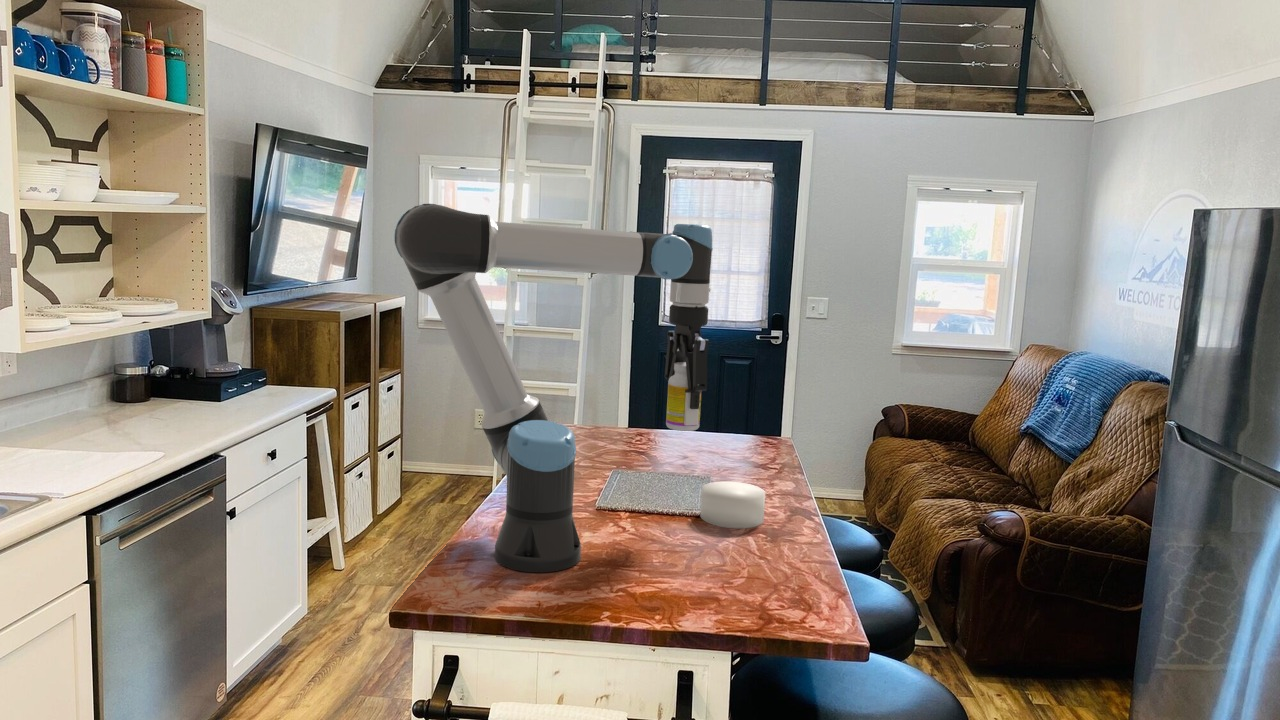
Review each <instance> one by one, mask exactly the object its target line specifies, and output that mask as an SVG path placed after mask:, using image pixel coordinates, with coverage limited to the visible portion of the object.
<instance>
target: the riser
mask: <svg viewBox="0 0 1280 720" xmlns="http://www.w3.org/2000/svg"><path fill="white" fill-rule="evenodd" d="M701 487H702V488H701V497H700V498H701V501H700V515H699V517H700V519H701V520H703V521H704V522H706V523H708V524H711V525H712V526H716V527H720V528H727V529H751V528H755V527H758V526H761V525H762V524H763V523H764V519H765V504H766V491H765V490H764V489H763V488H761V487H759V486H757V485H755V484H754V485H753V484H750V483H745V482H739V481H728V480H727V481H726V480H724V481H723V480H722V481H713V482H708V483H706V484H704V485H702V486H701Z"/></svg>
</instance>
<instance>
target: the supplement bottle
mask: <svg viewBox="0 0 1280 720" xmlns="http://www.w3.org/2000/svg"><path fill="white" fill-rule="evenodd" d="M674 371H675V374H674V375H673V376H671V377H670V378H669V381H668V380H667V382H668V383H667V400H666V402H667V403H666V415H665V416H666V418H665V425H666V427H667V428H668V429H670V430H674V431H678V432H679V431H680V432H694V431H696V430H698V429H699V428H700V421H701V419H700V418H701V408H702V407H701V404H702V392H700V403H699V420H698V425H684V416H685V398H686V392H685V390H687V389H688V381H687V370H686V362H677V363H675V364H674Z"/></svg>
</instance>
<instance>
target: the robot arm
mask: <svg viewBox="0 0 1280 720" xmlns="http://www.w3.org/2000/svg"><path fill="white" fill-rule="evenodd" d="M394 245H395V248H396V250H397V253H398V255H399V257H400V258H402V260H403V261H404V264H405V266H406V268H407V270H408V272H409V274H410V276H411V278H412V280H413V283H414V286H415V287H416V289H417V291H418V292H420V293H422V294H424V295H427V296H428V297H430V298H431V301H432V304H433V305H434V307H435V309H436V312H437V314H438V316H439V318H440V320H441V321H442V324H443V327H444V328H445V329H444V330H445V331H446V332H447V335H448V337H449V339H450V342H451V344H452V345H453V349H454V350H455V352H456V354H457V357H458V358H459V361H460V363H461V365H462V367H463V369H464V372H465V374H466V377H468V380H469V382H470V384H471V386H472V389H473V391H474V393H475V395H476V397H477V400H478V401H479V405H480V406H481V409H482V410H483V413H484V416H483V418H482V421H481V422H480V425H481V427H482V430H483V432H484V434H485V436H486V439H487V441H488V443H489V445H490V448H491V453H492V456H493V458H494V459H495V461H496V463H498V465H499V466H500V467H501V469H502V470H503V472H504V474H505V475H506V499H505V500H506V501H505V502H506V507H505V509H506V510H505V515H504V516H505V517H504V519H503V521H502V524H501V527H500V529H499V533H498V536H497V539H496V541H495V545H494V559H495V561H496V562H497V563H498V564H499V565H501V566H502V567H505V568H508V569H510V570H514V571H518V572H519V571H520V572H527V573H551V572H559V571H563V570H566V569H569V568H571V567H574V566H575V565H577V564H578V563H579V562H580V560H581V557H582V555H581V553H582V544H581V542H580V541H581V540H580V538H579V533H578V530H577V527H576V524H575V521H574V516H573V511H574V510H573V509H574V506H573V505H574V487H575V485H574V484H575V461H576V455H577V446H576V439H575V433H574V432H573V431H572V430H571V428H569V427H568V426H566V425H564V424H562V423H557V422H555V421H551V420H549V419H548V416H547V415H546V413H545V410H544V408H543V406H542V403H541V402H540V399H539V398H538V397H536V396H533V395H530V394H528V393H527V391H526V388H525V386H524V384H523V382H522V379H521V377H520V375H519V373H518V370H517V367H516V366H515V363H514V362H513V359H512V357H511V355H510V353H509V350H508V347H507V345H506V343H505V341H504V339H503V336H502V335H501V333H500V330H499V328H498V326H497V324H496V321H495V319H494V317H493V315H492V312H491V310H490V307H489V306H488V304H487V303H488V302H487V301H486V299H485V297H484V295H483V292H482V290H481V288H480V286H479V285H480V284H479V283H478V280H477V279H476V274H477V273H478V274H486V273H488V272H489V271H490V270H491V269H494V268H496V269H497V268H498V269H499V268H500V269H514V270H515V269H516V270H531V271H532V270H534V271H548V272H549V271H550V272H565V273H581V274H582V273H584V274H599V275H601V274H602V275H617V276H635V277H646V278H660V279H662V280H670V287H669V290H670V292H669V301H670V302H671V303H672V304H670V306H669V311H668V313H669V316H668V321H669V324H670V325H673V326H675V327H674V329H673V330H668V331H667V333H666V335H667V345H666V354H665V355H666V356H665V367H664V379H665V380H667V382H668V381H669V378H670V377H671V376H673V375H674V374H675V371H674V364H675V363H677V362H686V370H687V381H688V389H687V390H685V392H686V398H685V416H684V425H698V420H699V403H700V392H701V393H702V392H706V391H707V389H708V350H709V344H710V341H709V339H707V338H705V339H704V338H702V331H701V328H702V327H705V326H707V325H708V322H709V307H708V306H707V304H708V303H709V301H710V300H709V299H710V293H711V288H710V283H711V280H710V279H711V278H710V277H711V268H712V253H713V230H712V228H711V227H710V226H709V225H706V224H692V223H689V224H688V223H675V224H674V225H673V231H672V233H671V232H670V233H659V232H657V233H655V232H652V233H651V232H639V231H621V230H620V231H619V230H610V229H608V230H607V229H594V228H581V227H570V226H569V227H568V226H567V227H566V226H556V225H555V226H554V225H543V224H531V223H530V224H529V223H517V222H506V221H505V222H504V221H495V220H494V219H493V218H492V217H491V216H490V215H489V214H482V213H472V212H468V211H462V210H458V209H454V208H451V207H448V206H446V205H442V204H436V203H422V204H419V205H414V206H413V207H412V208H410V209H408V210H406V211H405V212H404V213H403V214H402V215H401V216H400V218H399V220H398V222H396V226H395V229H394Z"/></svg>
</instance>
